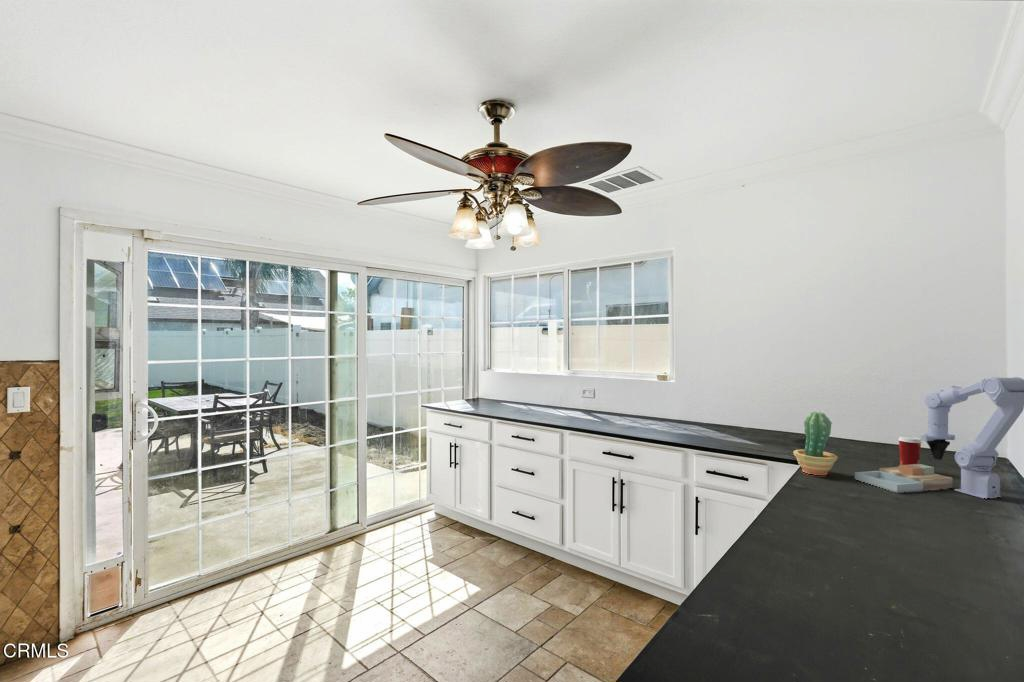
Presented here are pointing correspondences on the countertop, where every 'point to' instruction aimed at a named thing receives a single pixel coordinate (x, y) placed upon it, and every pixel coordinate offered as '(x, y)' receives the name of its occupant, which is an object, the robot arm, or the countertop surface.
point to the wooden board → (923, 479)
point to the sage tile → (925, 468)
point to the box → (889, 481)
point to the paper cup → (909, 450)
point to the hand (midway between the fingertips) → (937, 458)
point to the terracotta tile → (911, 469)
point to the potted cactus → (816, 445)
